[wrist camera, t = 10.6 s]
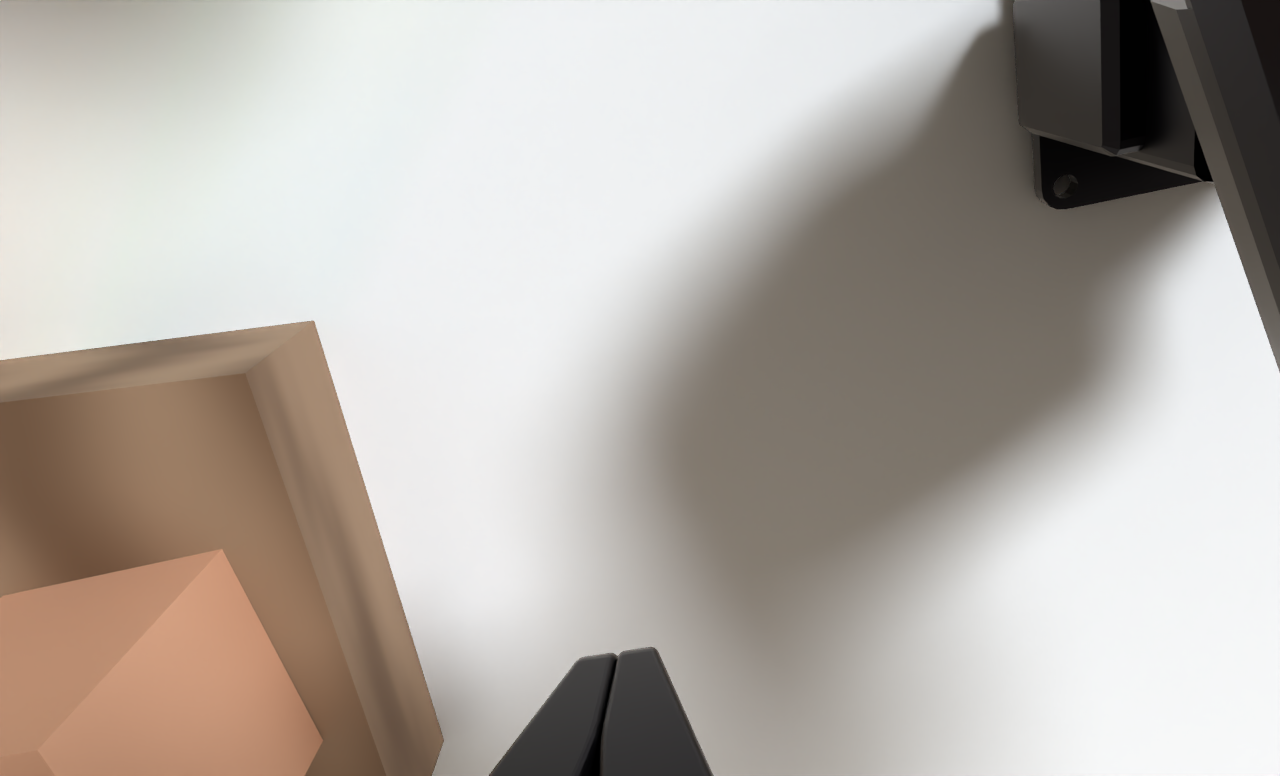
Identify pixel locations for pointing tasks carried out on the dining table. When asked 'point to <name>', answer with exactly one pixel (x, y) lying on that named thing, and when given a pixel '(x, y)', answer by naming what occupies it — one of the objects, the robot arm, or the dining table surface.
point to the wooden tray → (223, 512)
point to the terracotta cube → (147, 679)
